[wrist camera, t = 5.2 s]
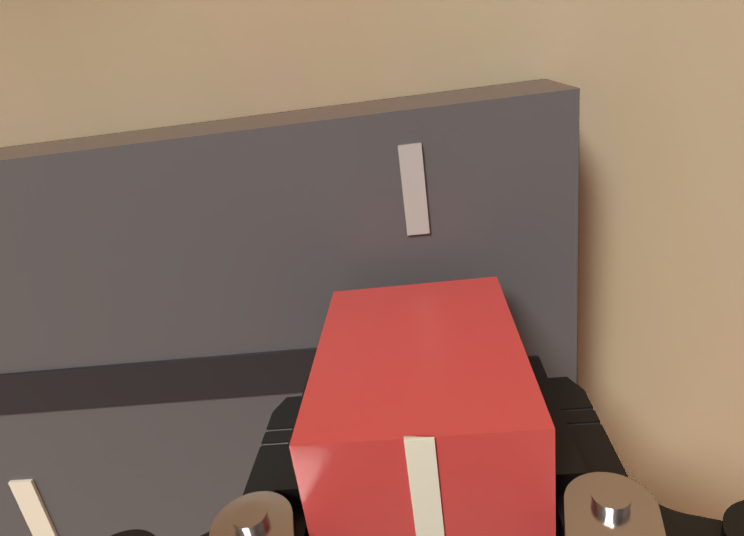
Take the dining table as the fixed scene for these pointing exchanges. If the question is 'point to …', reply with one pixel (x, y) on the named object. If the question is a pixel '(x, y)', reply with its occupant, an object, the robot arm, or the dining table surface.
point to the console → (249, 281)
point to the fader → (424, 418)
